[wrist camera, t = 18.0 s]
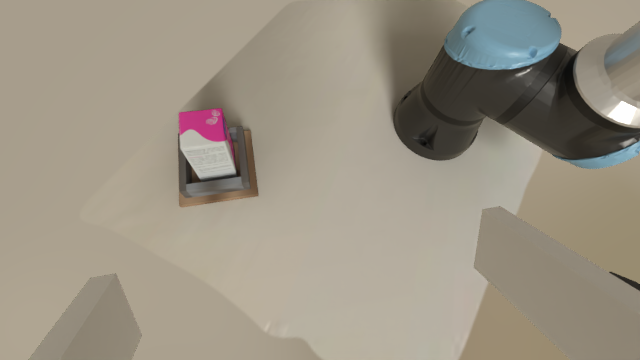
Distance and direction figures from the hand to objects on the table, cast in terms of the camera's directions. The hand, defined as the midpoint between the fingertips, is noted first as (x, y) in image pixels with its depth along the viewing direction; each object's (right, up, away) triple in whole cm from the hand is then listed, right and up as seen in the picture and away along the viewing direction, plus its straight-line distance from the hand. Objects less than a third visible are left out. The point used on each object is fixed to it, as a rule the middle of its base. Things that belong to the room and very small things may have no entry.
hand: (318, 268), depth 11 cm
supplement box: (-17, +6, +39) cm, 43 cm away
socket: (-17, +5, +40) cm, 43 cm away
